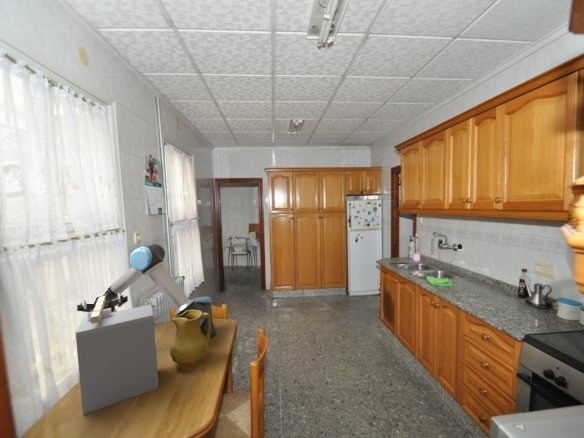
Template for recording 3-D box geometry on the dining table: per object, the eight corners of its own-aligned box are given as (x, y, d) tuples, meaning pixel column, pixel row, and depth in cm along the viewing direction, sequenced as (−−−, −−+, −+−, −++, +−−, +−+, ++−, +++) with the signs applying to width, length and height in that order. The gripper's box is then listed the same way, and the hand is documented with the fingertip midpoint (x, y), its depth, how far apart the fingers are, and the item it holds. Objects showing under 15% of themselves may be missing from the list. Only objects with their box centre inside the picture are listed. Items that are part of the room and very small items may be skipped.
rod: (99, 301, 125) (99, 296, 125) (105, 300, 126) (105, 295, 126) (91, 324, 99) (90, 317, 99) (98, 322, 100) (98, 316, 100)
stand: (89, 390, 114) (82, 318, 113) (156, 369, 128) (151, 304, 126) (83, 414, 101) (75, 332, 99) (158, 387, 114) (153, 315, 113)
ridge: (88, 319, 112) (88, 312, 112) (111, 314, 116) (110, 307, 116) (87, 321, 110) (87, 314, 110) (111, 316, 114) (110, 309, 114)
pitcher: (179, 353, 140) (177, 307, 139) (214, 352, 141) (213, 307, 139) (163, 374, 123) (161, 322, 121) (203, 374, 124) (202, 322, 122)
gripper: (134, 310, 144) (133, 300, 128) (76, 323, 132) (66, 313, 115) (133, 297, 147) (132, 286, 131) (76, 308, 134) (67, 297, 118)
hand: (101, 299), depth 123 cm, fingers open, 13 cm apart
